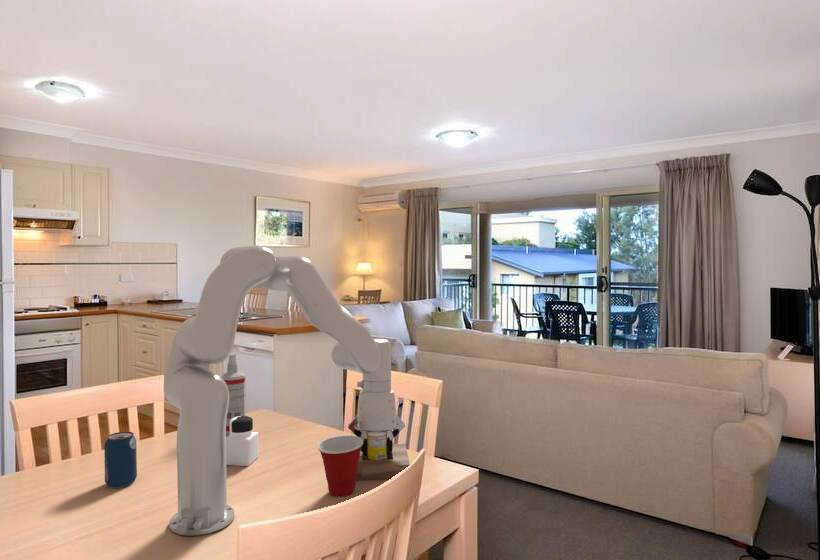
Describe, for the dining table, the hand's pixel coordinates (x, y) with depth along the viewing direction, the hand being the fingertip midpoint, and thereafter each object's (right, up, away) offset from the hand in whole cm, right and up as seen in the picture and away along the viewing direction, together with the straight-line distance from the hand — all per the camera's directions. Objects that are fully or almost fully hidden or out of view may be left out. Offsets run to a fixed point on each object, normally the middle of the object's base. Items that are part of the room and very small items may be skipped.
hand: (376, 453), depth 141 cm
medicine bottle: (-37, -4, +5) cm, 38 cm away
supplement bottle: (0, -2, 0) cm, 2 cm away
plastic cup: (-8, -4, -15) cm, 17 cm away
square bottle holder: (0, -4, 0) cm, 4 cm away
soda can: (-62, -4, -10) cm, 63 cm away
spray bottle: (-49, -3, +32) cm, 58 cm away
